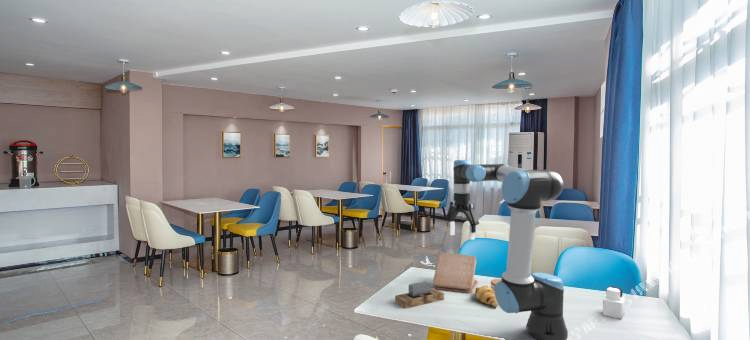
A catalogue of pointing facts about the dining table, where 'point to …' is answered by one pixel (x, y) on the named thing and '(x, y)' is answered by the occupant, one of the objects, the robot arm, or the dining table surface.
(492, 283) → the lidded jar
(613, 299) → the medicine bottle
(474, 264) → the case
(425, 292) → the grey bridge block
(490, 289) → the croissant
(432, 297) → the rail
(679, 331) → the dining table surface
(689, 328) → the dining table surface
